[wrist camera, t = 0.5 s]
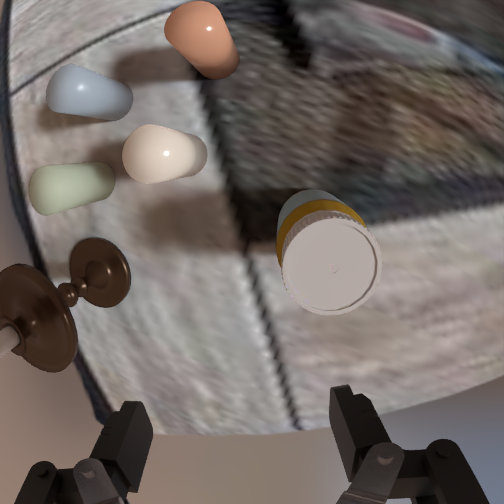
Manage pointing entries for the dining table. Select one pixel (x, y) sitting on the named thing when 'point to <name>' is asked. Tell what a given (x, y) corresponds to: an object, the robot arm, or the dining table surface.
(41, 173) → the sage canister
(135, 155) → the cream canister
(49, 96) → the dusty blue canister
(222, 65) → the terracotta canister
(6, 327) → the candlestick
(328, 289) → the bottle
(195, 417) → the dining table surface
